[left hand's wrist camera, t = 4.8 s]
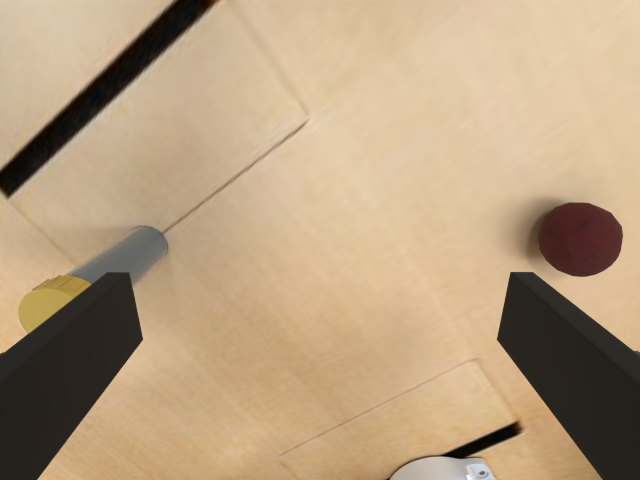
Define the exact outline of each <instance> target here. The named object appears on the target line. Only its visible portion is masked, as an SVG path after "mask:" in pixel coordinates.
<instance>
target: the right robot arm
mask: <svg viewBox="0 0 640 480" xmlns="http://www.w3.org/2000/svg"><path fill="white" fill-rule="evenodd" d="M390 480H497V479H496V477H495V476H494V474H493V473H492V471H491V469H490V468H489V466H488V465H487V463H486V461H485V460H484V459H482V458H467V459H456V458H450V457H427V458H422V459H419V460H416V461H413V462H411V463H409V464H407V465H405V466H403V467H402V468H400V469H399V470H398V471H397V472H395V473H394V475H393V476H392V477H391V478H390Z"/></svg>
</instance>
